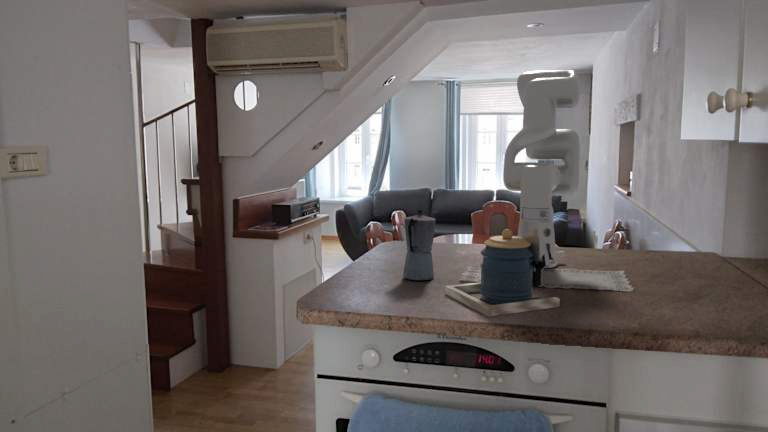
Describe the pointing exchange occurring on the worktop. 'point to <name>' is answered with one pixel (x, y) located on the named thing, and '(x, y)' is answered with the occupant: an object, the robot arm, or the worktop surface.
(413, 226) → the moka pot
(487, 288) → the canister
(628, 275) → the worktop surface
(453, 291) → the bay frame
